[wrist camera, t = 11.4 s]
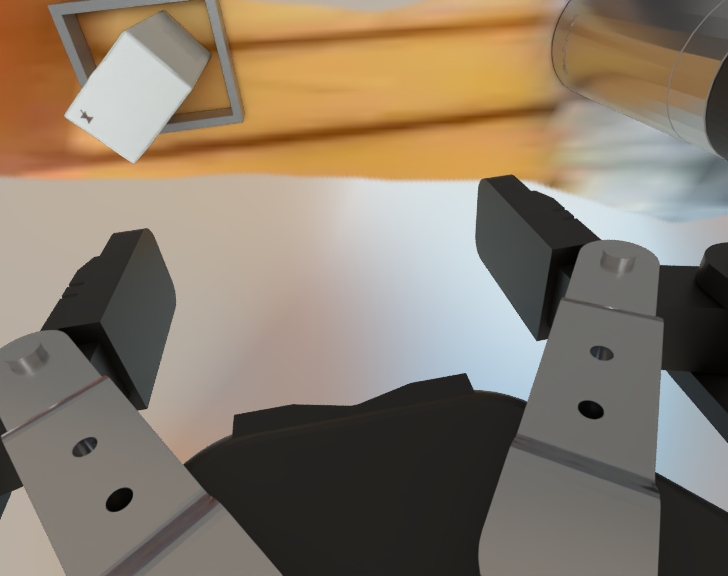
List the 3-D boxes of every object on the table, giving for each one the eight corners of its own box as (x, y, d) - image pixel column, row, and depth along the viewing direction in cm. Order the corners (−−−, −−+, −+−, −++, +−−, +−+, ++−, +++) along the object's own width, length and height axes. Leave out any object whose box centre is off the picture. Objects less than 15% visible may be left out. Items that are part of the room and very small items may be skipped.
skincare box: (168, 113, 37) (132, 168, 28) (116, 72, 35) (58, 116, 25) (215, 52, 35) (194, 89, 26) (164, 5, 33) (120, 26, 24)
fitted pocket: (215, -16, 33) (211, -14, 31) (244, 113, 38) (243, 122, 36) (61, 2, 32) (47, 5, 30) (112, 131, 37) (103, 141, 35)
